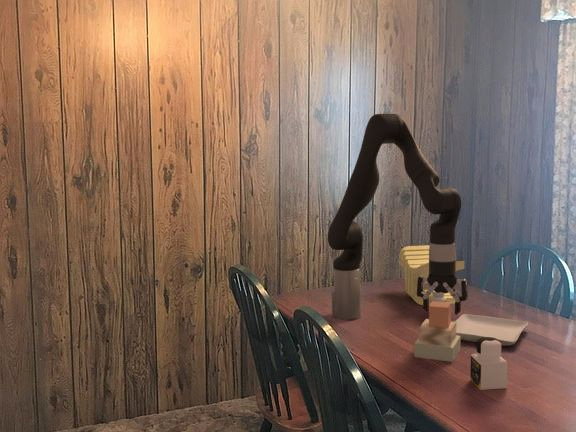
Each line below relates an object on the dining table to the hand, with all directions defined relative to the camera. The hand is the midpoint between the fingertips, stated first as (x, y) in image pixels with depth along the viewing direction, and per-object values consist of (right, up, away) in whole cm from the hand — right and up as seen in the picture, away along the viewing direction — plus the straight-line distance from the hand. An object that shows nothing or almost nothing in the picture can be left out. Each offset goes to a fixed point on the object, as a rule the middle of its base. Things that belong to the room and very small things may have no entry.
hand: (441, 312), depth 193 cm
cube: (0, -3, 0) cm, 3 cm away
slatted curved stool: (+9, -4, +57) cm, 58 cm away
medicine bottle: (+7, -15, -22) cm, 28 cm away
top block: (-1, -8, +1) cm, 8 cm away
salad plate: (+18, -10, +16) cm, 26 cm away
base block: (-1, -12, +1) cm, 13 cm away
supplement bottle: (+7, -7, +34) cm, 35 cm away
